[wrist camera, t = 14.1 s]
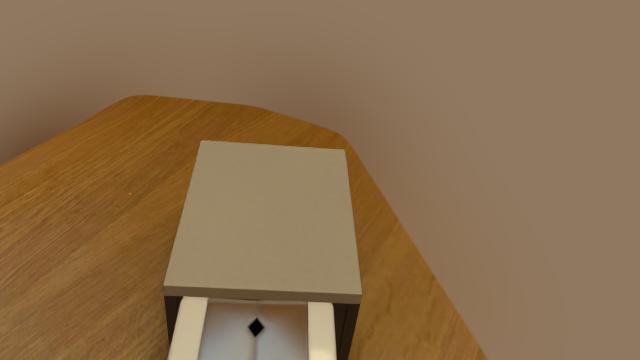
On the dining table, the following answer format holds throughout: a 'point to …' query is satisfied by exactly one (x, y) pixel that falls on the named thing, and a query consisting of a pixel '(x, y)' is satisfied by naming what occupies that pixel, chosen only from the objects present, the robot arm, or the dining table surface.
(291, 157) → the box lid
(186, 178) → the dining table surface
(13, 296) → the dining table surface
